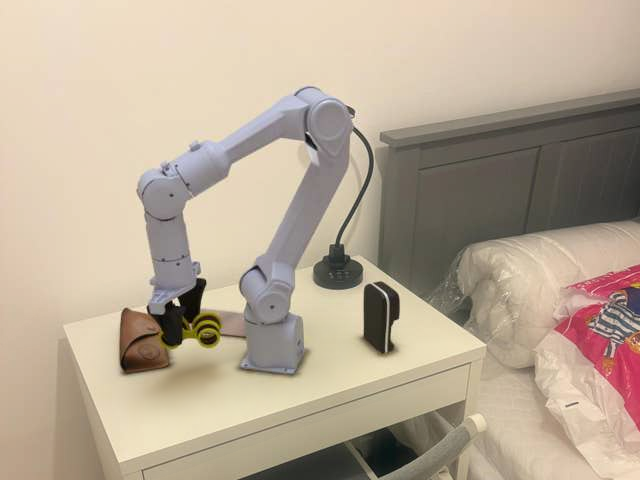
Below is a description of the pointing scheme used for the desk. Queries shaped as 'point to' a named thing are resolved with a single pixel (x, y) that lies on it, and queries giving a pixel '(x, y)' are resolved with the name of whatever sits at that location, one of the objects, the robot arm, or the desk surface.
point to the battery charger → (380, 315)
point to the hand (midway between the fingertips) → (184, 332)
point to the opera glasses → (198, 331)
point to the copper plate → (229, 324)
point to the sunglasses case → (140, 343)
